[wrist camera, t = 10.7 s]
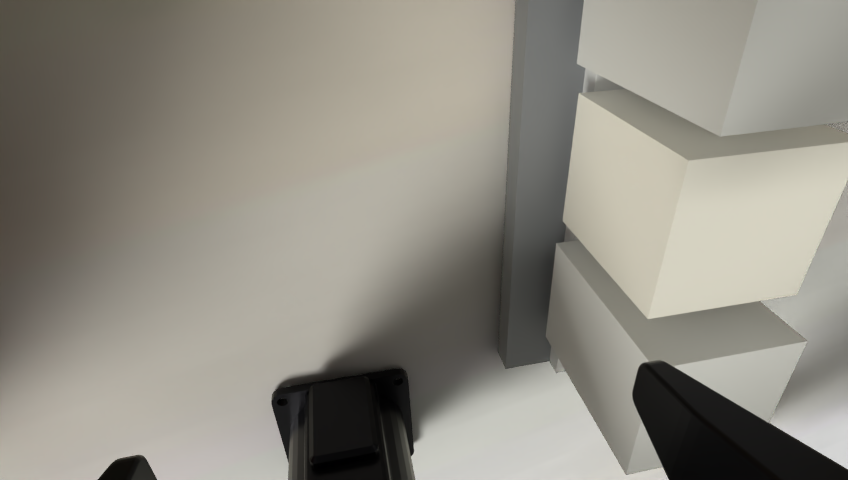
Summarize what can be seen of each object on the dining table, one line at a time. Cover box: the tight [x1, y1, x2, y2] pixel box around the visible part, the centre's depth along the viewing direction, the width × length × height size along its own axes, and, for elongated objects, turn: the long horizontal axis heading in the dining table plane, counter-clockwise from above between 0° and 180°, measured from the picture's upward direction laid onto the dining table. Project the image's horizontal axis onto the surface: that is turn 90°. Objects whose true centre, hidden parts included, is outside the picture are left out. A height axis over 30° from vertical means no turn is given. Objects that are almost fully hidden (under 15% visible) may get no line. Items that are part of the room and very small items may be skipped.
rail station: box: [498, 0, 848, 475], centre depth 17 cm, size 22×8×9 cm, turn 2°
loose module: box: [563, 89, 848, 319], centre depth 17 cm, size 5×5×6 cm
